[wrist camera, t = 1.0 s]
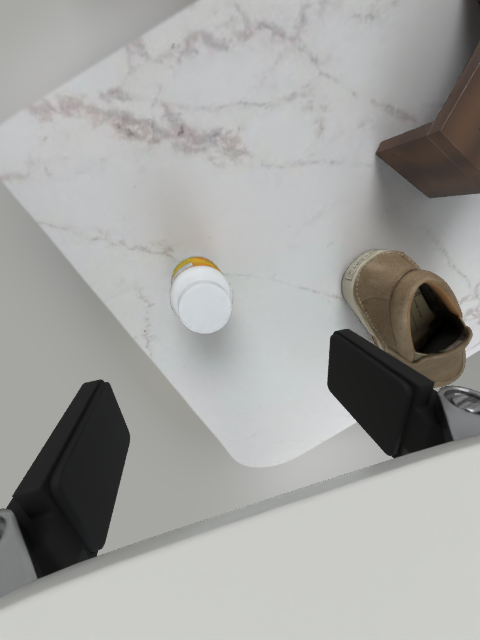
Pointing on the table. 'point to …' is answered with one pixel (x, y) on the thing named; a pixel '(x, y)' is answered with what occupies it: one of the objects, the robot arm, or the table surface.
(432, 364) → the slip on shoe
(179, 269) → the supplement bottle
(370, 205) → the table surface
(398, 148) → the shelf
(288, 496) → the robot arm
